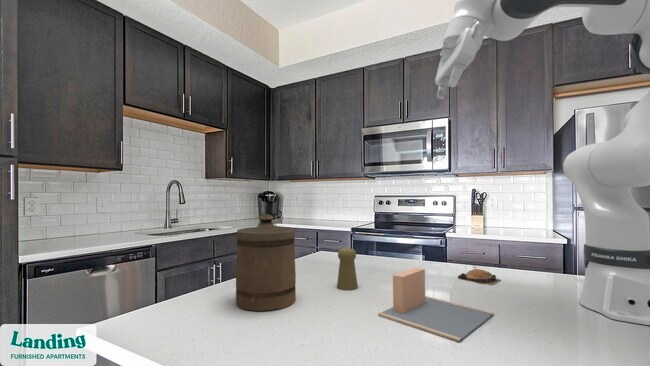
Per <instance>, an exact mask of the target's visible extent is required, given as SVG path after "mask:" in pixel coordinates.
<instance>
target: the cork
mask: <svg viewBox="0 0 650 366" xmlns="http://www.w3.org/2000/svg"><path fill="white" fill-rule="evenodd" d="M356 257H357V252H356V250H355V249H354V248H349V247H345V248H341V249H339V250H338V252H337V258H338V259H339V265H338V266H339V267H338V272H337V273H338V275H337V282H336V283H337V284H336V288H337V289H338V290H342V291H355V290H357V289H358V287H359V286H358V279H357V272H356V271H357V270H356V265H355V260H356Z"/></svg>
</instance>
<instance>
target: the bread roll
mask: <svg viewBox="0 0 650 366" xmlns="http://www.w3.org/2000/svg"><path fill="white" fill-rule="evenodd" d="M457 277H458V278H457V279H458V280H460V281H461V280H462V281H465V282H466V281H467V282H472V283H477V284H482V285H487V286H495V285H496V284H498V283H500V282H501V281H502V280H501V279H499V278H497V276H496V275H495V274H492V273H491V272H490V271H487V270H484V269H481V268H480V269H479V268H474V269H471V270H469V271H468V272H466V273H464V272H463V273H461V274H459V275H457Z"/></svg>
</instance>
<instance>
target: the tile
mask: <svg viewBox="0 0 650 366" xmlns="http://www.w3.org/2000/svg"><path fill="white" fill-rule="evenodd" d="M425 296H426V269H425V268H420V267H413V268H410V269H407V270H405V271H401V272H398V273H395V274H393V275H392V299H393V300H392V307H393V310H394V311H397V312H400V313H405V312H407V311H409V310H411V309H413V308H415V307H417V306H419V305H421V304H423V303H425Z"/></svg>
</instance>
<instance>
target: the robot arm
mask: <svg viewBox="0 0 650 366" xmlns="http://www.w3.org/2000/svg"><path fill="white" fill-rule="evenodd" d="M556 7H558V8H582V14H581V17H582V23H583V26H584V28H586V30H587V31H588V32H589V33H591V34H595V35H601V36H605V35H606V36H609V35H610V36H611V35H624V34H625V35H626V34H634V35H632V38H631V39H630V43H629V44H630V50H629V56H630V62H631V64H632V66H633V67H634V68H635V71H637V72H639V73H640V74H644V75H650V0H456V1H455V5H454V9H453V16H452V18H451V19H450V20H449V22H448V27H447V28H446V31H445V34H444V35H445V36H444V39H443V41H442V47H441V49H440V53H439V56H441V57H440V61H439V63H438V67H437V71H436V74H435V75H436V76H435V79H434V83H435V85H436V86H438V88H437V89H438V90H437V93H436V98H437V99H441V100H442V99H444V98H445V97H446V94H447V88H448V87H450V88H456V86H457V85H458V83H459V79H460V78H461V76H462V74H463V72H464V71H465V69H466V68H468V67H469V65H470V64H471V63H472V62H473V61H474V60H475V58H476V56H477V52H478V51H479V50H480V49H481V46H482V44H483V41H484V38H485V37H487V38H490V39H492V40H495V41H498V42H508V41H512V40H514V39H515V38H517V37H518V36H519V35H521V34H522V33H523V32H524V31H525V30H526V29H527V28H528V27H529V26H530V25H531V24H532V22H534V21H535V20H537V18H538V17H539V16H540V15H542V14H543V13H545V12H547V11H549V10H551V9H554V8H556ZM623 121H624V125H625V127H624V129H623V131H621V132H620V133H619V134H618V135H616V136H615V137H612V138H610V139H609V140H605V141H601V142H595V143H590V144H586V145H583V146H581V147H579V148H578V149H576V150H574V151H572V152H570V153H569V154H568V155H567V156H566V157H565V159H564V161H563V165H562V169H563V174H564V175H565V177H566V178H567V180H569V181H570V182H571V183H572V185H574V187H575V190H576V192H577V194H578V197H579V199H580V202H581V205H582V209H583V213H584V228H585V244H584V245H583V248H582V250H583V251H582V254H583V255H582V256H583V259H582V260H583V265H584V268H585V270H584V272H585V273H584V281H583V286H582V289H581V290H582V291H581V293H580V296H579V299H578V302H579V304H580V305H582V306H584V307H585V308H587V309H589V310H592V311H594V312H598V313H600V314H602V315H604V316H605V317H606V318H609V319H612V320H616V321H621V322H628V323H632V324H633V323H634V324H639V325H646V326H650V216H649V214H648V212H647V211H646V210H645V209H644V208H643V207H641V206H640V205H639V204H638V203H637V202H636V200H635V199H634V197H633V195H632V192H631V190H630V188H639V187H640V188H641V187H647V186H650V90H648V91H647V93H646V94H645V95H644V96H643V97H642V98H641V99H640V100H639V101H638V102H636V104H635V105H634V106H633V107H631V109H630V110H628V112H627V113H626V114H625V116H624V120H623Z"/></svg>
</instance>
